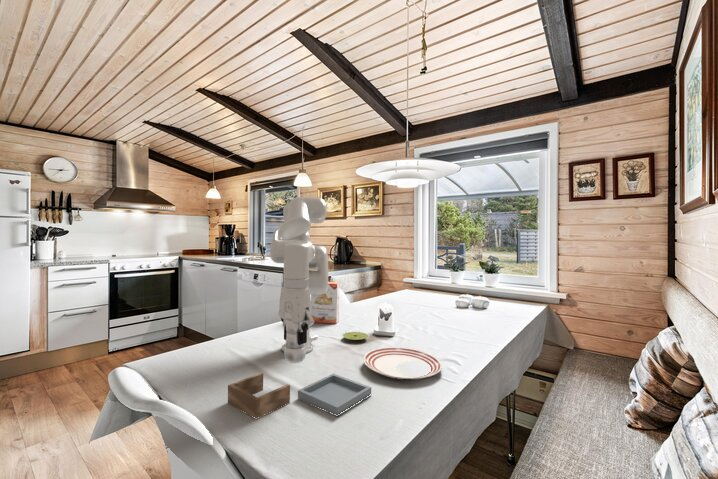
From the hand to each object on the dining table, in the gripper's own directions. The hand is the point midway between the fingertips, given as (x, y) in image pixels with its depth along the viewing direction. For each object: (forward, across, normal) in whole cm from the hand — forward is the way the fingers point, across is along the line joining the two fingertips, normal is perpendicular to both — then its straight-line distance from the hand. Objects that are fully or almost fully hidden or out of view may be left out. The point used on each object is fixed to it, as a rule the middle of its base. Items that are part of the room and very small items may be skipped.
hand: (295, 340), depth 107 cm
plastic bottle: (+7, 0, 0) cm, 7 cm away
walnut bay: (+14, +1, -14) cm, 20 cm away
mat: (+16, -13, +47) cm, 51 cm away
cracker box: (+17, -43, +59) cm, 75 cm away
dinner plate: (+15, +19, +33) cm, 41 cm away
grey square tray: (+14, +15, +2) cm, 20 cm away
